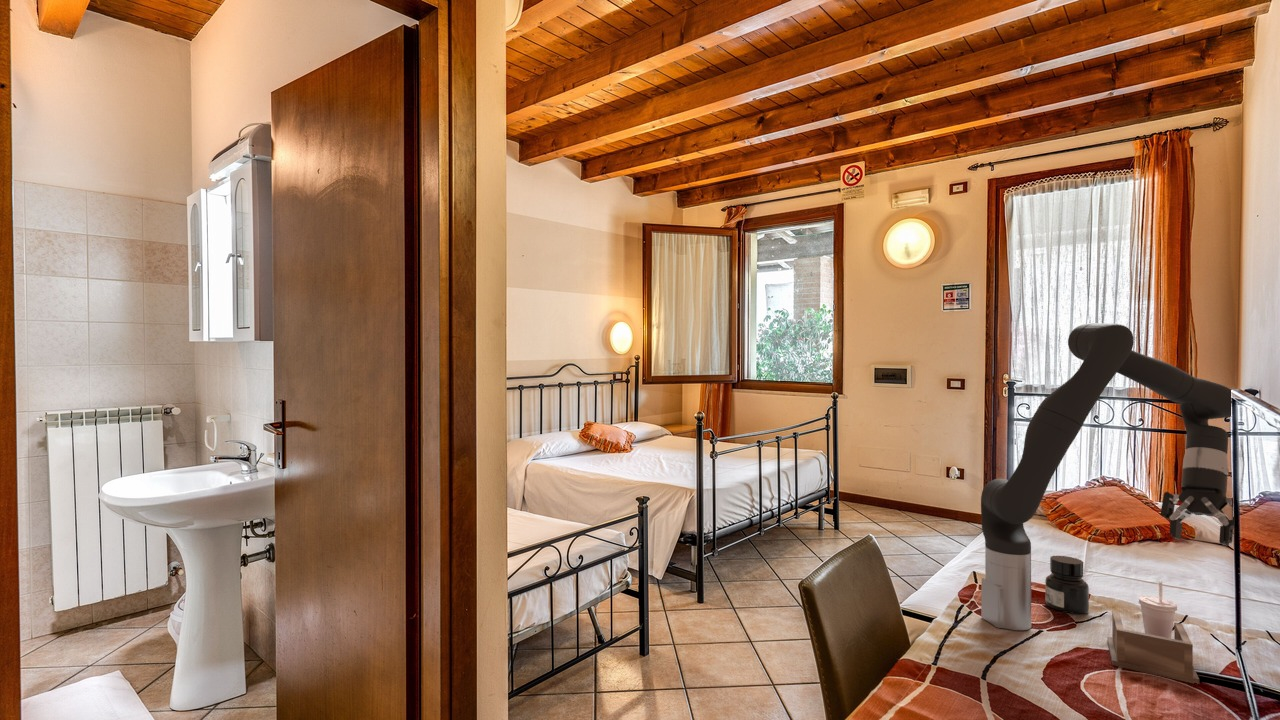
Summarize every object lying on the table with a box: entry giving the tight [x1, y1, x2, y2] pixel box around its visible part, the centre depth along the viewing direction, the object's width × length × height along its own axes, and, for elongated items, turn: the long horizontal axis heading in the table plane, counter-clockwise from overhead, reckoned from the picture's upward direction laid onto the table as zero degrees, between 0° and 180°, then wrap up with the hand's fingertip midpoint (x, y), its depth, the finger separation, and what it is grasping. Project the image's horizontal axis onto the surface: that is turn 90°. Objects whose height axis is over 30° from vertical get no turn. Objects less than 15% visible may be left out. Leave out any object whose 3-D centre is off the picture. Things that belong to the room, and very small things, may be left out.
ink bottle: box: [1044, 555, 1090, 615], centre depth 150 cm, size 10×9×12 cm
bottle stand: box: [1107, 610, 1200, 685], centre depth 123 cm, size 13×13×7 cm
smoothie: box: [1137, 581, 1178, 639], centre depth 130 cm, size 6×6×14 cm
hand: (1199, 541), depth 133 cm, fingers open, 8 cm apart
